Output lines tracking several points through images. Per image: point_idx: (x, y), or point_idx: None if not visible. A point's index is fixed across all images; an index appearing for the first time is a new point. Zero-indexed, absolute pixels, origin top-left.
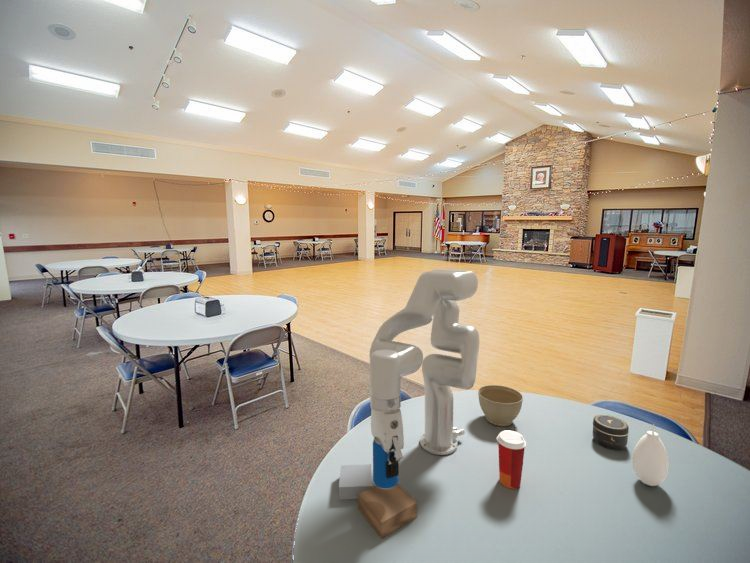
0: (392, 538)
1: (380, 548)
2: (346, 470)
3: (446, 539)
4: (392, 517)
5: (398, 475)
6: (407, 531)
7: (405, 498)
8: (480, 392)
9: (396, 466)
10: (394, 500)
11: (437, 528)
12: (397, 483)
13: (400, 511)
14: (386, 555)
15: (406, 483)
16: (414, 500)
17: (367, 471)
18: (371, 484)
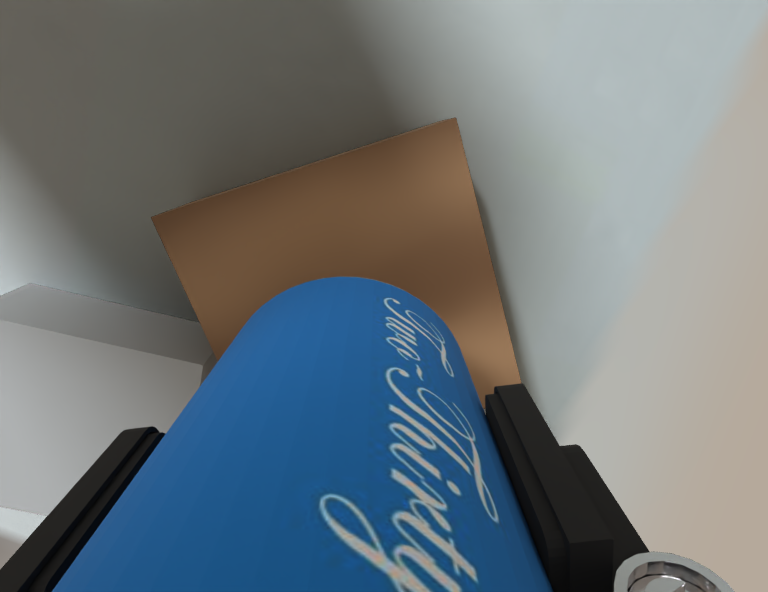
0: (521, 306)
1: (548, 373)
2: (23, 478)
3: (654, 12)
4: (505, 323)
5: (410, 312)
6: (513, 217)
7: (391, 188)
8: None
9: (634, 533)
10: (385, 270)
11: (565, 30)
12: (432, 310)
13: (487, 264)
14: (592, 359)
15: (140, 69)
16: (431, 129)
17: (48, 357)
18: (188, 364)
